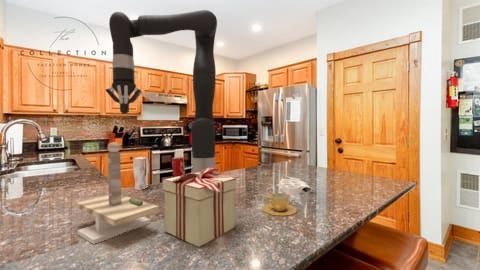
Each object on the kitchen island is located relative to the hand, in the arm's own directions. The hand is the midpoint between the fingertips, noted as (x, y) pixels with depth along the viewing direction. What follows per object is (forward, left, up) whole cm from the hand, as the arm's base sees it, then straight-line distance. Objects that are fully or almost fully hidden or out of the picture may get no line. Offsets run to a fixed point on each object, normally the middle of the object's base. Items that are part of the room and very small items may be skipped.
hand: (124, 113), depth 90 cm
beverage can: (-18, -20, -35) cm, 44 cm away
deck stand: (-4, +24, -35) cm, 43 cm away
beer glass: (0, -22, -35) cm, 42 cm away
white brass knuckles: (-71, -7, -36) cm, 80 cm away
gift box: (-30, +30, -35) cm, 55 cm away
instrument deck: (-4, +24, -30) cm, 38 cm away
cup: (-56, +18, -36) cm, 69 cm away
